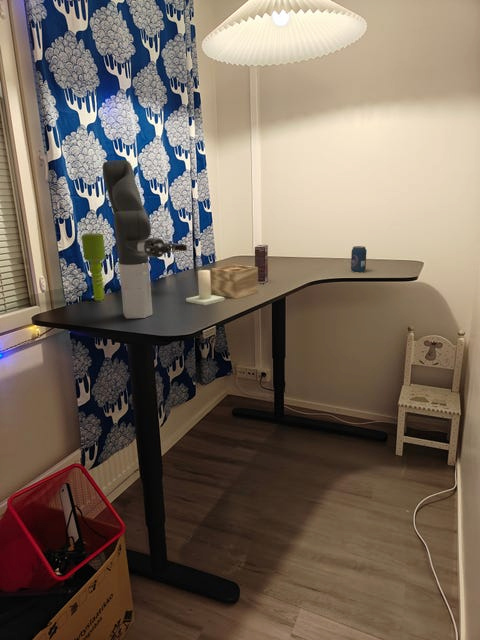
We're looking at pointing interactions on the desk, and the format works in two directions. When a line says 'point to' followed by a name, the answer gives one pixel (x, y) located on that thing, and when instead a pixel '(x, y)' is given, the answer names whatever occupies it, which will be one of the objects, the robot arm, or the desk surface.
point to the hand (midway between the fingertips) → (177, 248)
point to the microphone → (95, 260)
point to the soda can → (358, 259)
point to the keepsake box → (234, 280)
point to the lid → (204, 290)
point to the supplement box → (262, 262)
